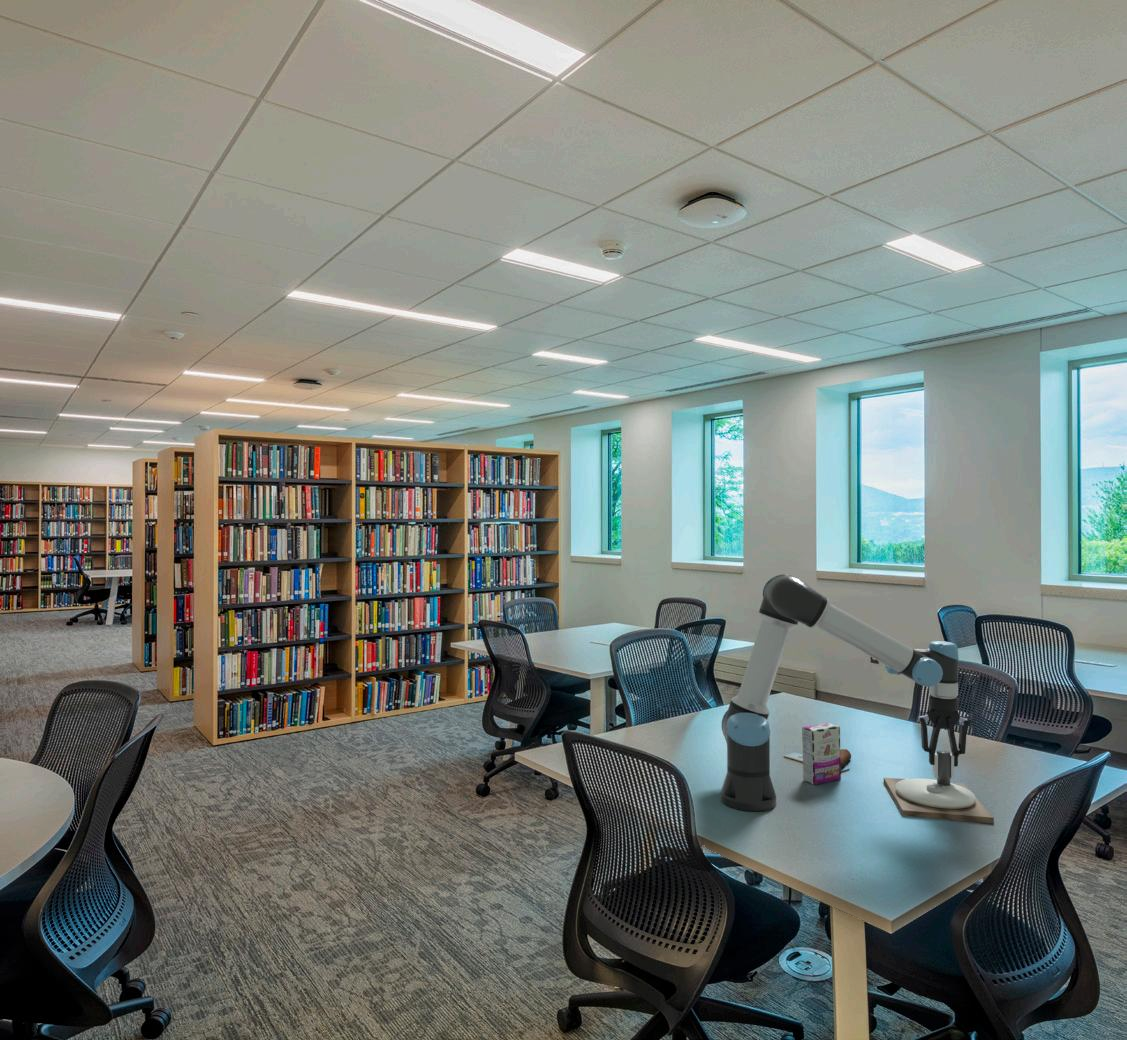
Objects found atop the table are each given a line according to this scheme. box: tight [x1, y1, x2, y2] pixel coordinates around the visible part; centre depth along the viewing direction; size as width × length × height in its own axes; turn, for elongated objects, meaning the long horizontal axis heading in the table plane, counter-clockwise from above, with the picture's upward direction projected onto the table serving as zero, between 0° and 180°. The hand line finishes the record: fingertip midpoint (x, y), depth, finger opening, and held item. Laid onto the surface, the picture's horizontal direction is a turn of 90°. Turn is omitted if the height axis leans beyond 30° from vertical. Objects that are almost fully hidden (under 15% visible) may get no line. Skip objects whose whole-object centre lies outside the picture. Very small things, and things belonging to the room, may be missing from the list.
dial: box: [896, 749, 976, 809], centre depth 206 cm, size 20×20×10 cm
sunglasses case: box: [840, 748, 852, 769], centre depth 237 cm, size 18×7×7 cm
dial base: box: [883, 777, 995, 824], centre depth 206 cm, size 22×26×2 cm
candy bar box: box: [801, 722, 842, 786], centre depth 223 cm, size 11×5×16 cm, turn 115°
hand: (943, 776), depth 212 cm, fingers closed on dial, 3 cm apart
